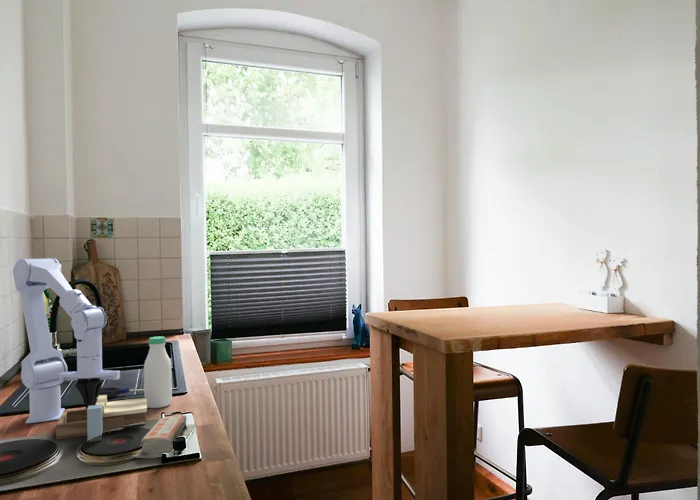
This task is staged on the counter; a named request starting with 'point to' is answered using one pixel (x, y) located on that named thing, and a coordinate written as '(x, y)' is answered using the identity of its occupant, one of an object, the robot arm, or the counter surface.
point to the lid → (121, 406)
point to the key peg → (94, 421)
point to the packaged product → (164, 436)
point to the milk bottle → (157, 375)
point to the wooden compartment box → (76, 423)
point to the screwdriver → (115, 391)
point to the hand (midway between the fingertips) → (90, 407)
